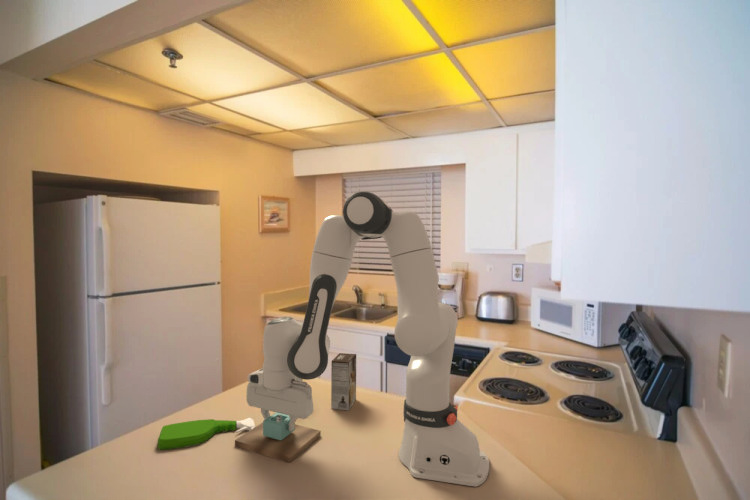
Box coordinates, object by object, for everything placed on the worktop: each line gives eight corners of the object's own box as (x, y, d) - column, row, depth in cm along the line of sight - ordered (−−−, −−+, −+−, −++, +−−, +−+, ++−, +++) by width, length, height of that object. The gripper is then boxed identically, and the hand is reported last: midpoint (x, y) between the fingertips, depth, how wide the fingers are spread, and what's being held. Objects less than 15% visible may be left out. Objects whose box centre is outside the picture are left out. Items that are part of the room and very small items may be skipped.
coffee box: (338, 397, 130) (339, 352, 129) (356, 399, 128) (356, 353, 128) (330, 409, 121) (331, 360, 120) (349, 411, 120) (349, 362, 119)
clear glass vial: (283, 436, 101) (283, 414, 101) (279, 439, 100) (279, 417, 100) (278, 435, 102) (278, 413, 102) (274, 437, 101) (274, 416, 101)
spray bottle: (162, 433, 105) (252, 420, 114) (155, 454, 95) (255, 437, 104) (162, 423, 105) (253, 410, 114) (156, 443, 95) (256, 427, 104)
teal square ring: (294, 430, 103) (294, 415, 102) (281, 440, 97) (281, 425, 97) (277, 425, 105) (277, 411, 105) (263, 435, 99) (263, 420, 99)
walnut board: (320, 436, 104) (320, 430, 104) (290, 462, 91) (290, 456, 91) (269, 422, 111) (269, 417, 111) (234, 445, 98) (234, 440, 98)
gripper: (318, 379, 99) (317, 429, 100) (258, 367, 108) (258, 414, 108) (304, 387, 94) (304, 441, 94) (242, 374, 102) (242, 424, 102)
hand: (279, 426), depth 101 cm, fingers closed on teal square ring, 6 cm apart
